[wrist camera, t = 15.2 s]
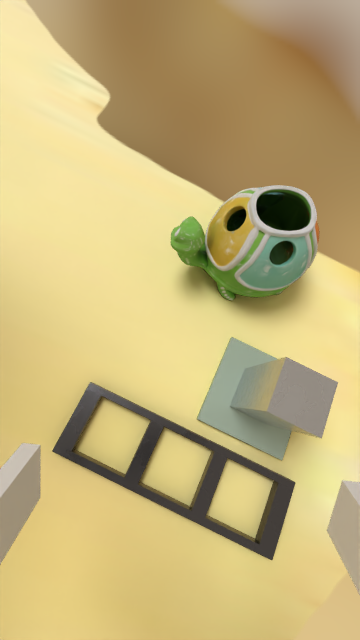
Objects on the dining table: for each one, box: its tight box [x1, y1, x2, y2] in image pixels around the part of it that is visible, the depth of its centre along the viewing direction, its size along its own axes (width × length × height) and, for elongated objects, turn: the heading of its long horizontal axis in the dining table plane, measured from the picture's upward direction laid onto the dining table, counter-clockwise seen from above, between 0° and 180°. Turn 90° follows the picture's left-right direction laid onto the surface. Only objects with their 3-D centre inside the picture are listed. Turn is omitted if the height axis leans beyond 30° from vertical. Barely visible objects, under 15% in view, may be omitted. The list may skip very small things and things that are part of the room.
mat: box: [197, 337, 291, 460], centre depth 35 cm, size 11×11×1 cm
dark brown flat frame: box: [53, 382, 295, 560], centre depth 31 cm, size 26×8×1 cm, turn 65°
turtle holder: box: [171, 185, 319, 300], centre depth 34 cm, size 12×18×12 cm
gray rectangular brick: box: [230, 357, 338, 438], centre depth 29 cm, size 5×5×11 cm
